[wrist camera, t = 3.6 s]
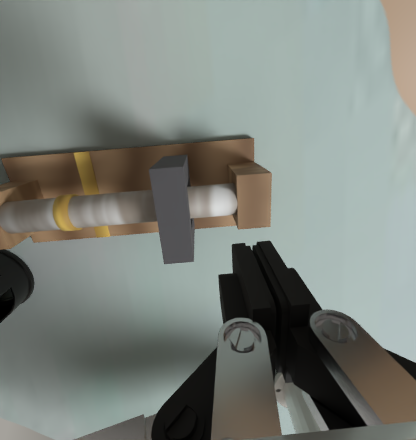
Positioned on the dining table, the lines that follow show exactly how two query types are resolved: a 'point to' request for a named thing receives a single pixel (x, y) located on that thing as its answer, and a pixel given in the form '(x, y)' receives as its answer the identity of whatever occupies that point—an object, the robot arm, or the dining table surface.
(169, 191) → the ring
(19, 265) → the french press
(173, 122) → the dining table surface
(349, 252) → the dining table surface
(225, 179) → the pipe stand
